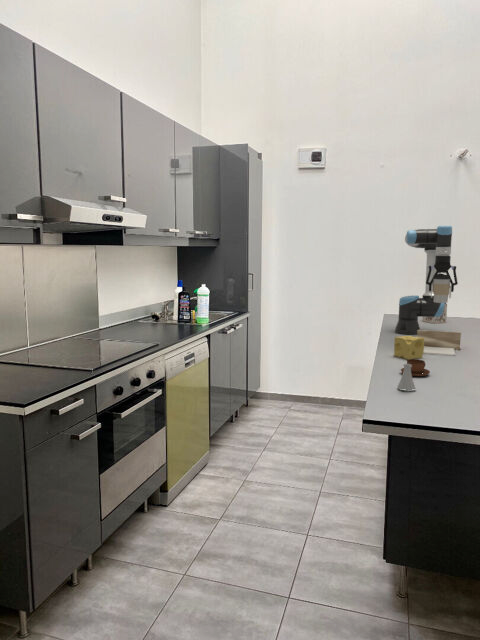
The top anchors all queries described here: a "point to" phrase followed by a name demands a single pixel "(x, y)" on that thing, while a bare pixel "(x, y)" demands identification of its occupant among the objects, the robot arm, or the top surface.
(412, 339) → the cheese
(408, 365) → the flask
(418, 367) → the cup and saucer
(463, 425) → the top surface
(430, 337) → the wooden screen
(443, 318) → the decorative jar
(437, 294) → the coffee cup
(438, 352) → the display pad
